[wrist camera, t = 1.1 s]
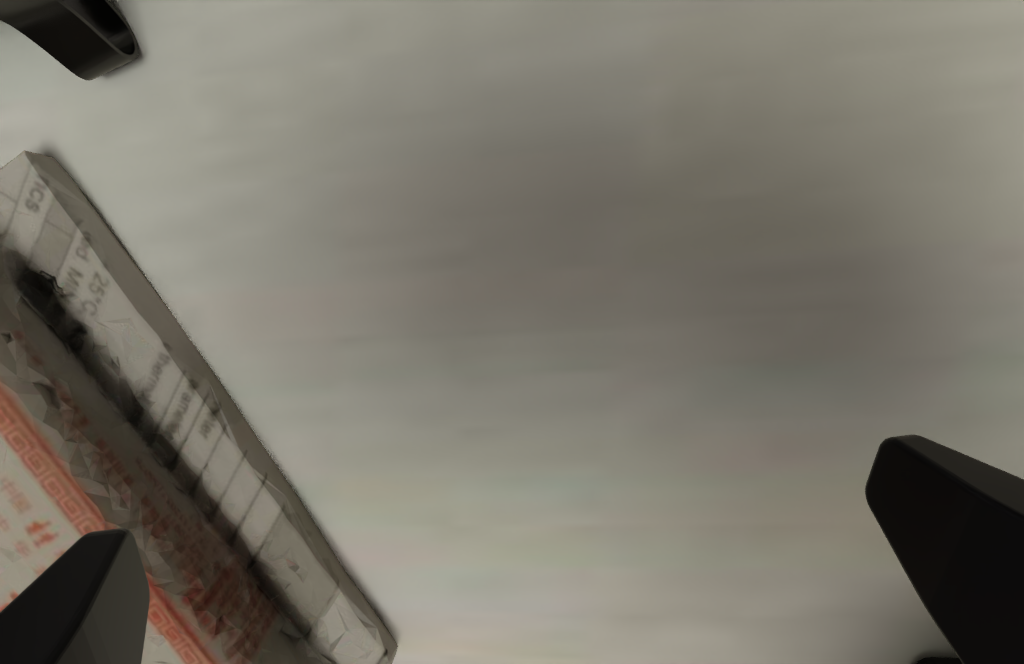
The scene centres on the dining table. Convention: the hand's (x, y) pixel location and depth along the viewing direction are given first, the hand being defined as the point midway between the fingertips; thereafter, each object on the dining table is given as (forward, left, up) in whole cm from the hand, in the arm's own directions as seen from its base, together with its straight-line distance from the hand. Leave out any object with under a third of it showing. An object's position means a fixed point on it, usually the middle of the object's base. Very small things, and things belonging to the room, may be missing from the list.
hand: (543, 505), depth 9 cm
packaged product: (-6, +13, -12) cm, 19 cm away
